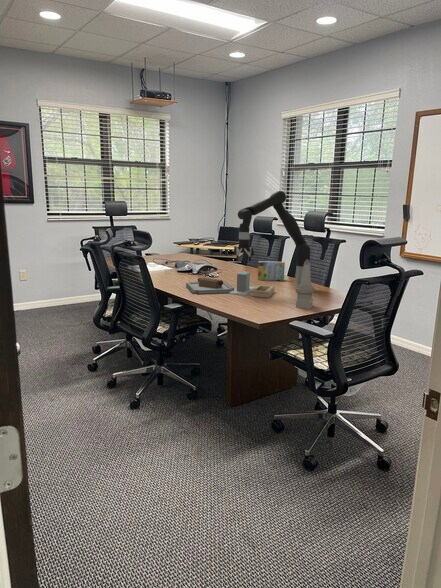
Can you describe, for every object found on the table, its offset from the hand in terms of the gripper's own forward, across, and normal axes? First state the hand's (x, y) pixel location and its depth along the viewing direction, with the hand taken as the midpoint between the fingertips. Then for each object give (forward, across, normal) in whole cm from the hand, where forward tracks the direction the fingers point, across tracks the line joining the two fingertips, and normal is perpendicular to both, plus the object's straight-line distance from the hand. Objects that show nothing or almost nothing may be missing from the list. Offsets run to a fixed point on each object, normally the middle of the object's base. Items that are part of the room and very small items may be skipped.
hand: (243, 261), depth 308 cm
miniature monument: (+22, -48, +26) cm, 59 cm away
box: (+20, 0, 0) cm, 21 cm away
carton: (+22, -16, +4) cm, 27 cm away
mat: (+22, 0, 0) cm, 22 cm away
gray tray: (+22, +24, +4) cm, 33 cm away
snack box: (+22, -9, -50) cm, 55 cm away
